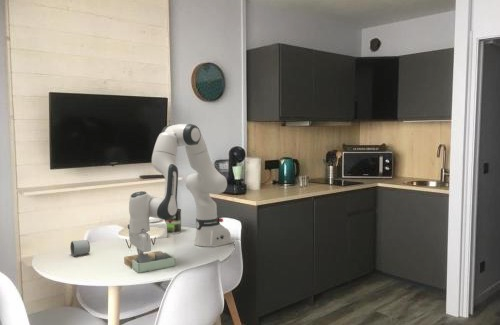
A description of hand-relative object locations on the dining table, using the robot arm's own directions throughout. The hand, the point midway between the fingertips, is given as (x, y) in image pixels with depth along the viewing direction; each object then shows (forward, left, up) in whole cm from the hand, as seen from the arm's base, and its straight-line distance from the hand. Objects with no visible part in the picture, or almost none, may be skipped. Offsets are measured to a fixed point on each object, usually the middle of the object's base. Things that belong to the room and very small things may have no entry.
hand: (140, 257), depth 198 cm
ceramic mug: (+19, -39, -5) cm, 44 cm away
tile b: (0, +3, -2) cm, 3 cm away
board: (-4, -5, -4) cm, 8 cm away
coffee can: (-40, -57, -4) cm, 70 cm away
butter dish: (-25, -56, -5) cm, 62 cm away
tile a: (-8, +4, -1) cm, 9 cm away
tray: (-4, +5, -4) cm, 8 cm away
